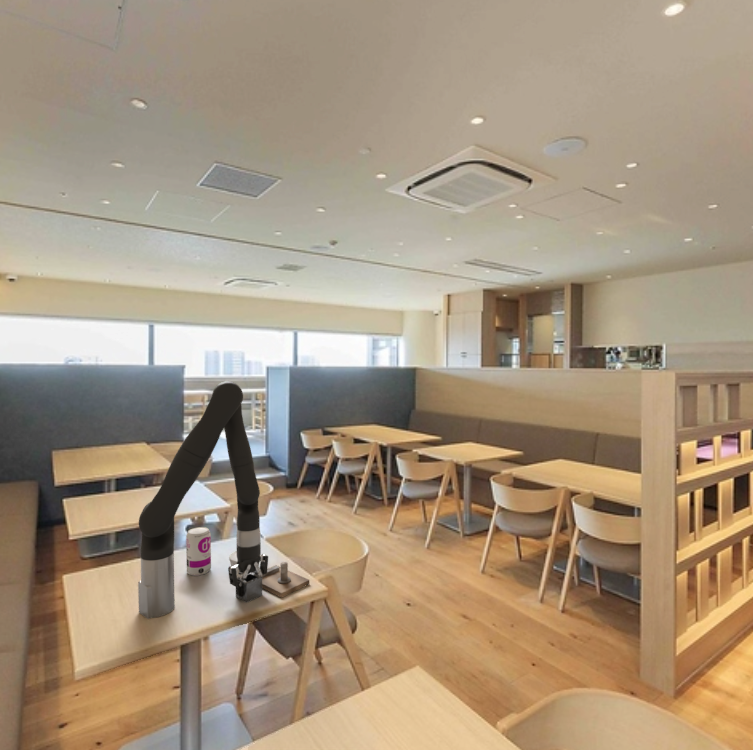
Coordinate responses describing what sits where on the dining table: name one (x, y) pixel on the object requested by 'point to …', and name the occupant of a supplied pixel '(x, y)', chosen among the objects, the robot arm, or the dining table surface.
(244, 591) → the grey hollow cube
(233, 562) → the ramekin
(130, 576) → the dining table surface
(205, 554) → the supplement can
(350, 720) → the dining table surface
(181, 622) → the dining table surface
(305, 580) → the board
